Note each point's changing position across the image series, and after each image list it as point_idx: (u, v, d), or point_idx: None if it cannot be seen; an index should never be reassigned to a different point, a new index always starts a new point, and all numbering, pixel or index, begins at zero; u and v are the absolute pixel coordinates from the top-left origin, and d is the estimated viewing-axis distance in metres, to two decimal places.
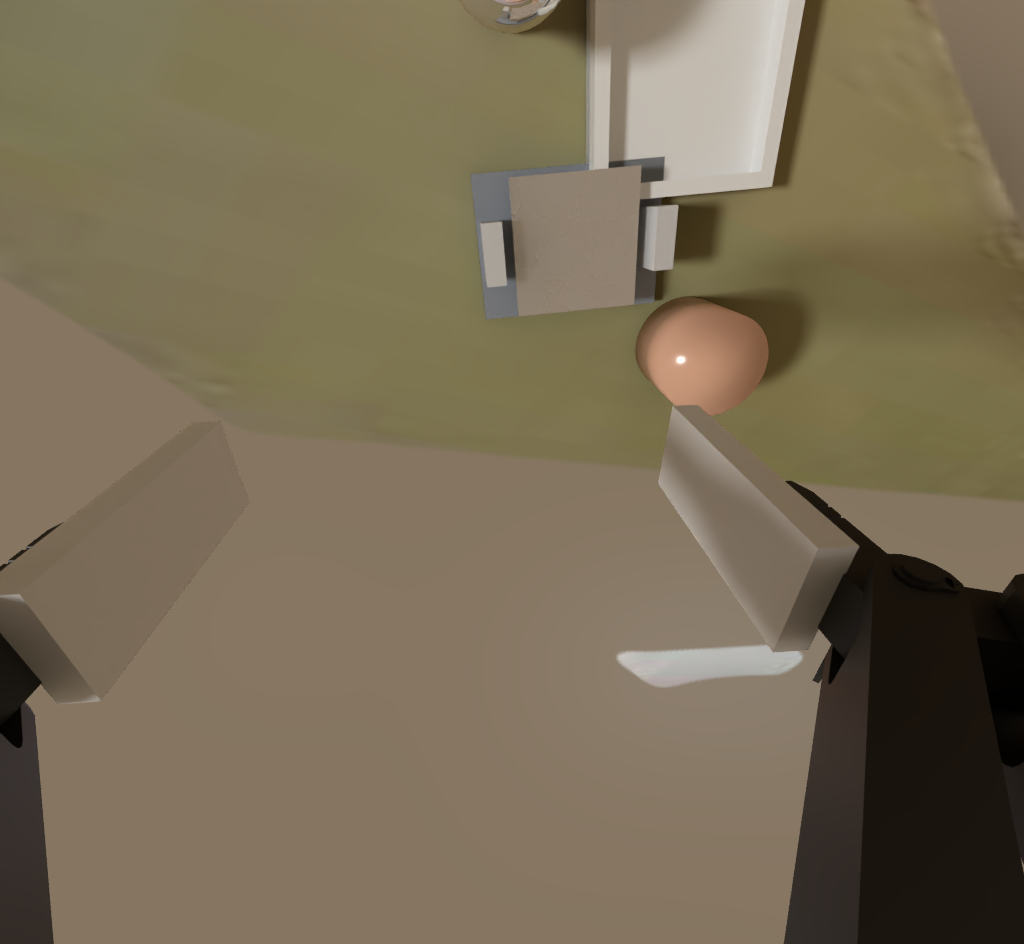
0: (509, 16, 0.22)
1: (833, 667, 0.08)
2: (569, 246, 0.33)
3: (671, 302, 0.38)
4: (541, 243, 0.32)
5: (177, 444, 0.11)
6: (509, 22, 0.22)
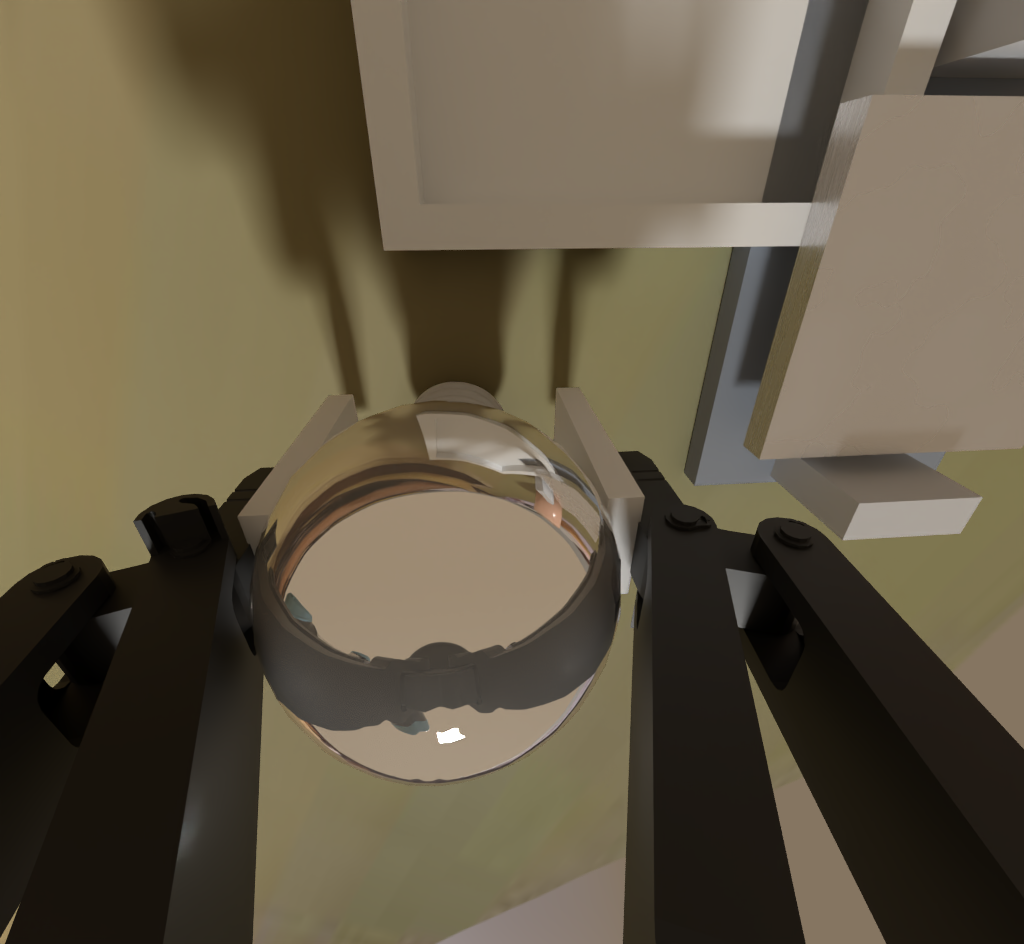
0: None
1: (639, 613, 0.09)
2: (954, 326, 0.13)
3: None
4: (909, 395, 0.14)
5: (327, 411, 0.13)
6: None
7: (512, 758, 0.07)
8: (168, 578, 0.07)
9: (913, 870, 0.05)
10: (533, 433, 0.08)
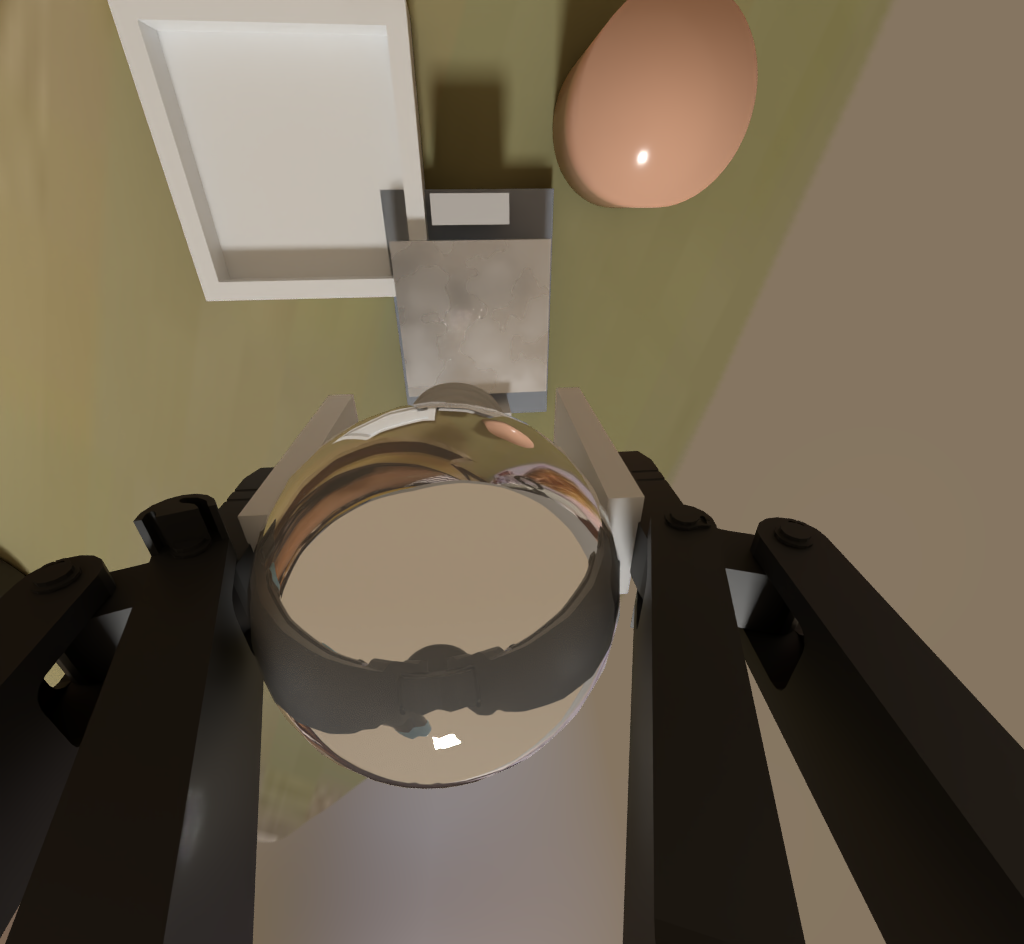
0: None
1: (639, 613, 0.09)
2: (475, 331, 0.28)
3: (557, 155, 0.26)
4: (471, 364, 0.29)
5: (327, 411, 0.13)
6: None
7: (510, 761, 0.07)
8: (168, 578, 0.07)
9: (913, 870, 0.05)
10: (532, 434, 0.08)
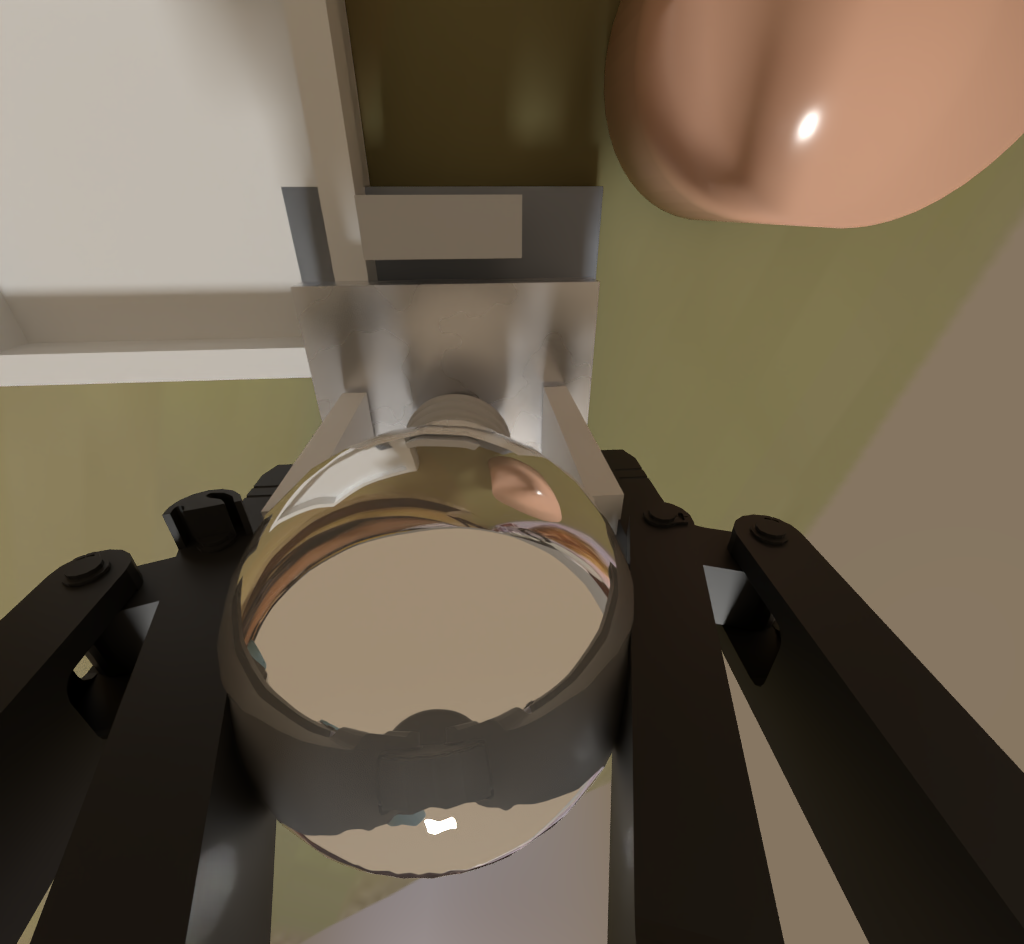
0: None
1: None
2: None
3: (612, 123, 0.14)
4: None
5: (342, 409, 0.13)
6: None
7: (516, 849, 0.06)
8: (194, 572, 0.08)
9: (889, 862, 0.05)
10: (541, 465, 0.07)
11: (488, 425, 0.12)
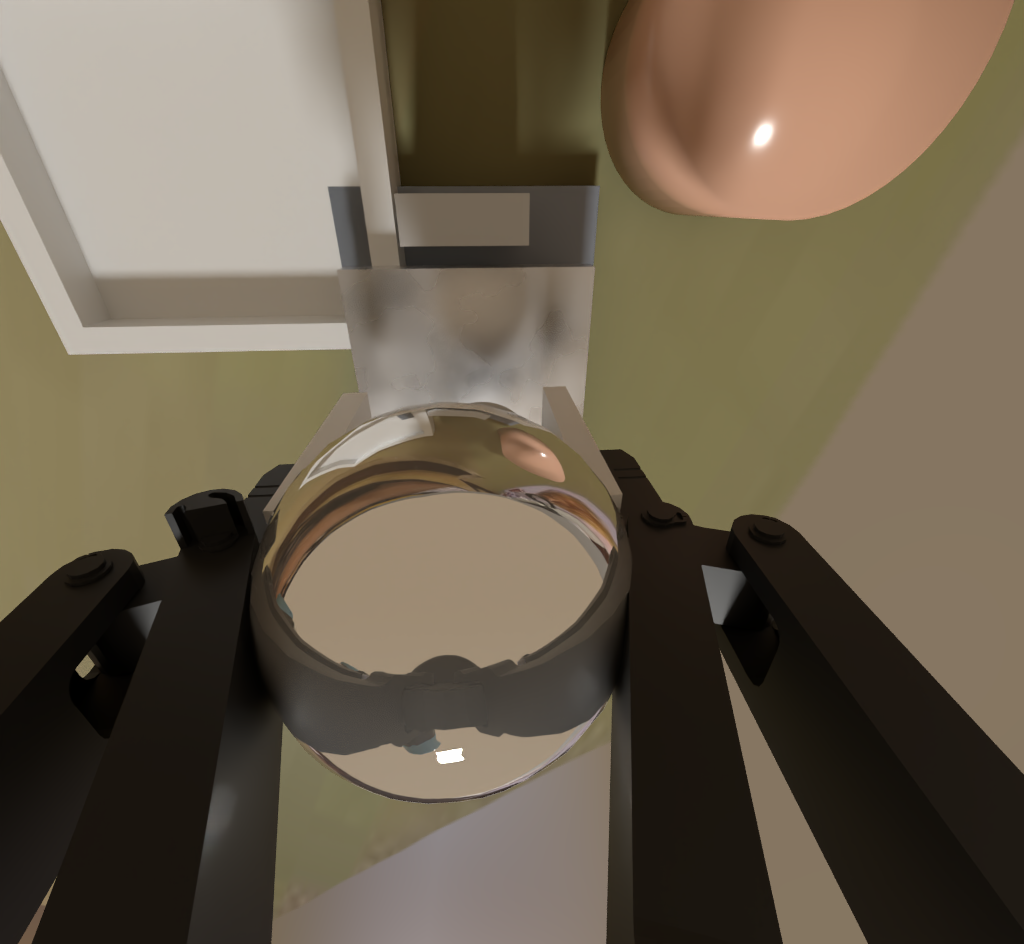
0: None
1: None
2: None
3: (607, 132, 0.16)
4: None
5: (343, 409, 0.13)
6: None
7: (502, 777, 0.06)
8: (196, 571, 0.08)
9: (887, 862, 0.05)
10: (545, 433, 0.08)
11: None
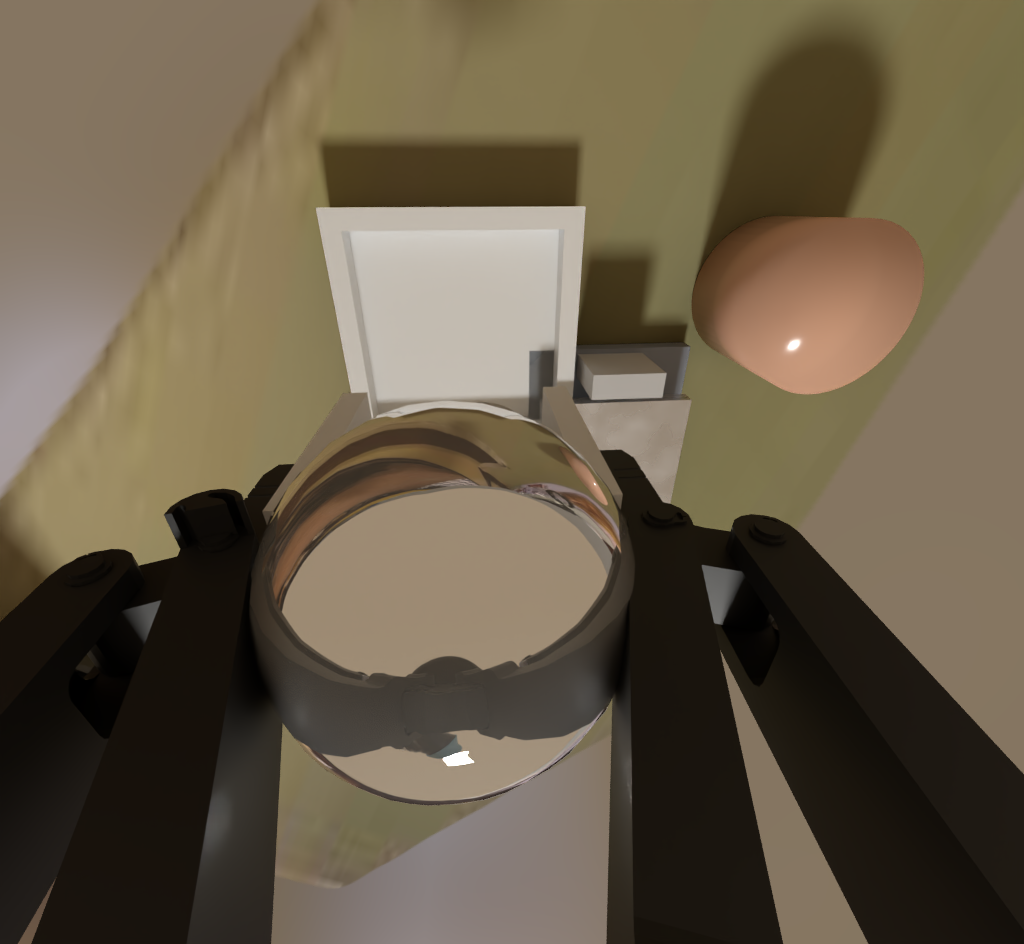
0: None
1: None
2: None
3: (696, 317, 0.28)
4: None
5: (343, 409, 0.13)
6: None
7: (503, 779, 0.06)
8: (196, 571, 0.08)
9: (887, 862, 0.05)
10: (547, 432, 0.08)
11: None
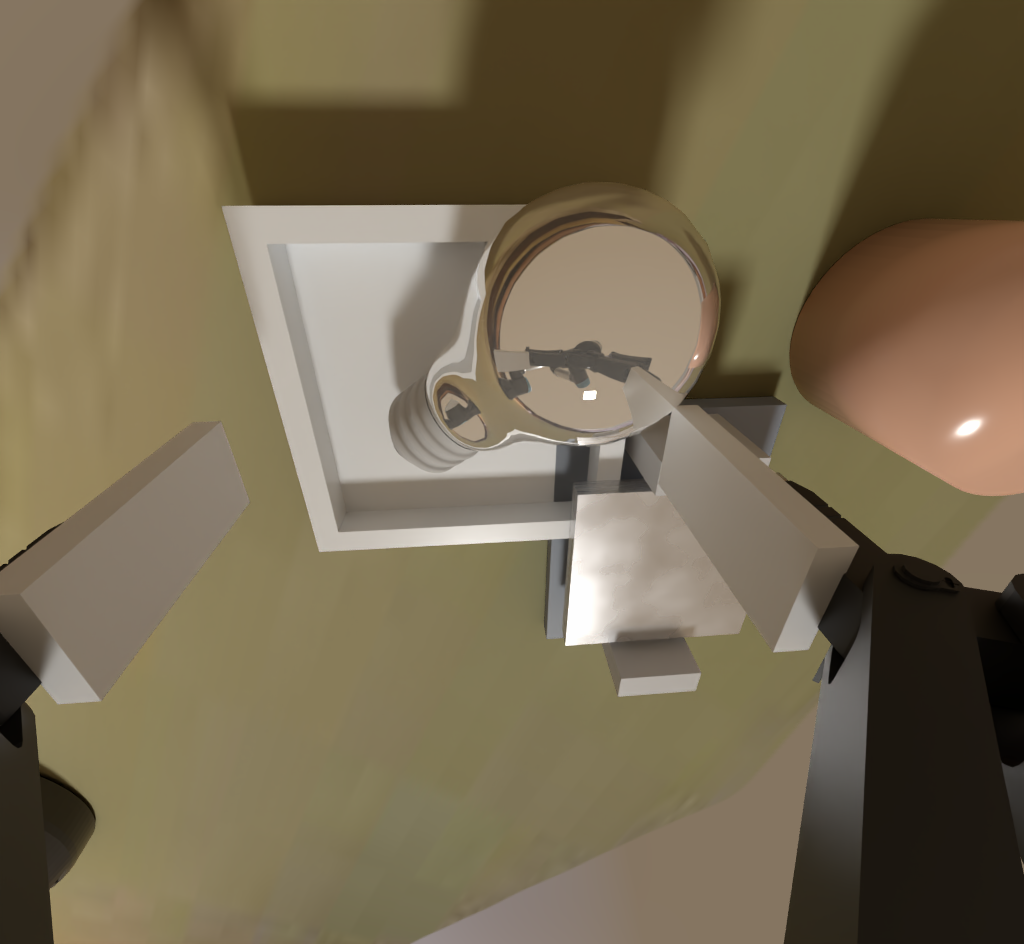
0: None
1: (833, 667, 0.08)
2: (666, 580, 0.21)
3: (797, 363, 0.19)
4: (652, 612, 0.22)
5: (177, 444, 0.11)
6: None
7: None
8: None
9: None
10: None
11: None
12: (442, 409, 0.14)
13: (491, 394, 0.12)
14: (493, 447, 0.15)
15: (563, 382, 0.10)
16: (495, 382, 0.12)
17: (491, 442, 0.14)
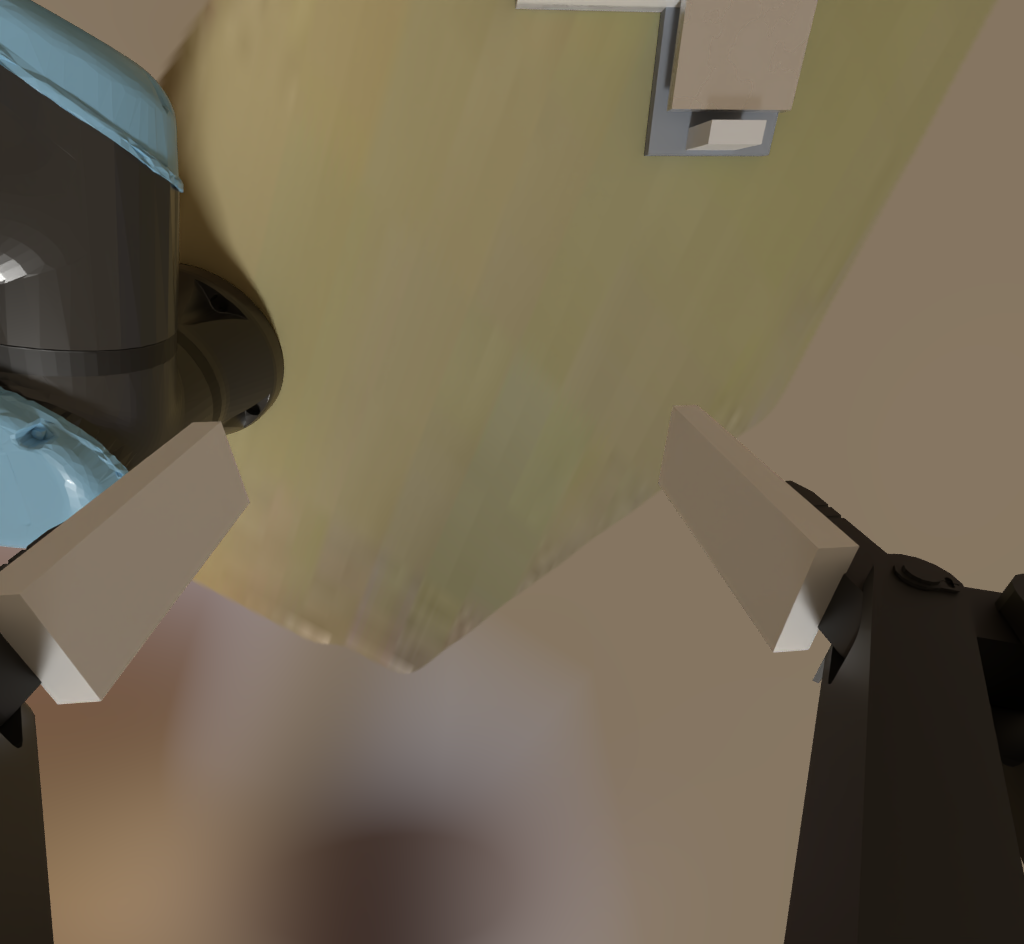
0: None
1: (833, 667, 0.08)
2: (746, 35, 0.31)
3: None
4: (733, 73, 0.32)
5: (177, 444, 0.11)
6: None
7: None
8: None
9: None
10: None
11: None
12: None
13: None
14: None
15: None
16: None
17: None
